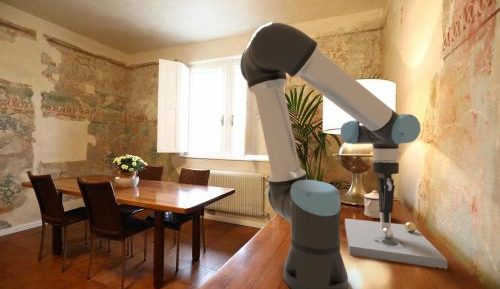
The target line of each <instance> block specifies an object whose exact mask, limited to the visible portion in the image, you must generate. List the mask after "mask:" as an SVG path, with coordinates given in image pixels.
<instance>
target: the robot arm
mask: <svg viewBox="0 0 500 289" xmlns="http://www.w3.org/2000/svg"><path fill="white" fill-rule="evenodd" d="M239 67H240V72H241V75H242V78H244V80H245V81H246V82H247V87H248V91H249V92H250V93H252V94H253V95H254V96H255V100H256V105H257V109H258V116H259V120H260V123H261V124H260V125H261V129H262V133H263V138H264V143H265V148H266V152H267V153H266V154H267V157H268V161H269V162H268V163H269V166H270V171H271V173H270V174H269V175H268V178H267V181H268V190H267V200H268V203H269V205H270V207H271V208H272V209H273V211H274V212H275V213H276V214H277V215H279V216H280V217H282V218H283V219H284V220H286V221H287V222H288V223H289V224H290V247H289V249H288V252H287V255H286V257H285V258H286V259H285V261H284V264H283V274H282V275H283V280H284V283H285V284H286V285H287V286H288V287H289V288H291V289H348V286H349V276H348V272H347V268H346V266H345V262H344V259H343V257H342V253H341V207H342V204H341V195H340V192H339V189H338V188H337V187H336V186H334V185H333V184H330V183H328V182H324V181H319V180H314V179H308V176H307V172H306V170H304V169H303V168H301V167H300V162H299V156H298V153H297V148H296V143H295V138H294V132H293V127H292V122H291V119H290V114H289V113H290V112H289V108H288V104H287V98H286V94H285V87H286V84H287V83H288V76H287V75H289V76H290V77H291V78H299V79H301V80H303V82H305V83H306V84H308V85H309V86H310V87H312V88H313V90H315V91H317V92H318V93H320V94H321V95H322V96H324V97H325V98H326V99H328V100H329V101H330V102H332V103H333V104H334V105H335V106H337V107H338V108H340V109H341V111H343V112H345V113H346V114H347V115H348V116H350V117H351V118H352V119H353V120H346V121H345V122H343V123H342V125H341V127H340V138H341V140H342V141H343V142H344V143H345V144H351V145H359V144H360V145H363V144H364V145H365V144H366V145H371V144H372V160H373V162H372V172H373V173H376V174H379V177H377V184H378V186H377V187H378V193H379V207H380V210H379V211H380V212H381V218H380V222H381V224H380V230H381V231H382V229H383V228H390V229H391V223H392V222H391V220H392V219H391V215H392V213H393V208H394V207H393V206H394V196H395V194H394V193H395V188H396V185H395V183H394V182H395V181H394V179H393V177H392V175H396V174H397V175H398V174H399V173H400V163H399V162H398V161H399V159H400V158H399V157H400V156H399V155H401V151H400V149H399V148H400V147H399V146H400V145H401V144H410V143H413V142H415V141H416V140H417V139H418V138H419V135H420V133H421V122H420V120H419V119H418V118H417V117H416V116H415V115H413V114H411V113H406V114H405V113H401V114H398V112H396V111H395V110H393V109H392V108H391V107H390V106H389V105H387V104H386V103H384V101H382V100H381V99H380V98H378V97H377V96H376V95H375V94H373V93H372V91H370V90H368V89H367V88H366V87H365V86H364V85H363V84H361V83H360V82H359V81H357V79H355V78H354V77H352V75H350V74H349V73H348V72H346V70H344V69H343V68H341V67H340V66H339V65H338V64H336V63H335V61H333V60H331V59H330V58H329V57H328V56H327V55H326V54H325V53H323V52H322V51H320V50H319V43H318V42H317V41H315V39H313V38H311V37H310V36H309V35H308V34H307V33H305V32H303V31H302V30H300V29H298V28H296V27H295V26H292V25H289V24H287V23H282V22H269V23H267V24H264V25H262V26H260V27H259V28H258V29H257V30H256V31H255V33H254V34H253V35H252V37H251V40H250V41H249V43H248V44H247V46H246V48H245V49H244V51H243V53H242V55H241V60H240V64H239Z"/></svg>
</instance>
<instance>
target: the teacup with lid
mask: <svg viewBox="0 0 500 289" xmlns="http://www.w3.org/2000/svg"><path fill="white" fill-rule="evenodd" d="M363 198H364V202H363V203H364V205H363V206H364V208H363V209H364V210H363V211H364V212H363V214H364V216H366V217H369V218H374V219H381V212H380V211H379V210H380V207H379V192H378V191H377V190H372V191H371V192H369V193H366V194H364V195H363Z"/></svg>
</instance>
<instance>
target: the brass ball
mask: <svg viewBox="0 0 500 289" xmlns="http://www.w3.org/2000/svg"><path fill="white" fill-rule="evenodd" d="M404 225H405V229H406V230H407V231H408V232H414V231H416V229H417V226H416V224H415V223H414V222H412V221H408V222H406V223H405V224H404Z"/></svg>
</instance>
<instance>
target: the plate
mask: <svg viewBox="0 0 500 289" xmlns="http://www.w3.org/2000/svg"><path fill="white" fill-rule="evenodd" d="M380 224H381V221H373V220H365V219H363V220H362V219H353V218H344V226H345V235H346V241H347V247H348V248H347V249H348V253H349V255H351V256H358V257H364V258H365V257H366V258H371V259H375V260H377V259H378V260H383V261H384V260H385V261H391V262H397V263H403V264H411V265H417V266H423V267H431V268H436V267H438V268H437V269H442V268H444V269H443V270H448V259H447V258H446V257H445V256H444V255H443V254H442V253H441V252H440V251H439V249H437V248H436V247H435V246H434V245H433V244H432V243H431V242H430V241H429V240H428V239H427V238H426V237H425V236H424V235H423V234H422V233H421V232H420V231H419V230H418V229H417V228H416V231H414V232H408V231H407V230H406V229H405V224H400V223H392V222H391V230H392V231H393V233H394V235H393V237H392V238H390V239H387V238H385V237H384V236H383V235H382V231H381V230H380Z"/></svg>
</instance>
